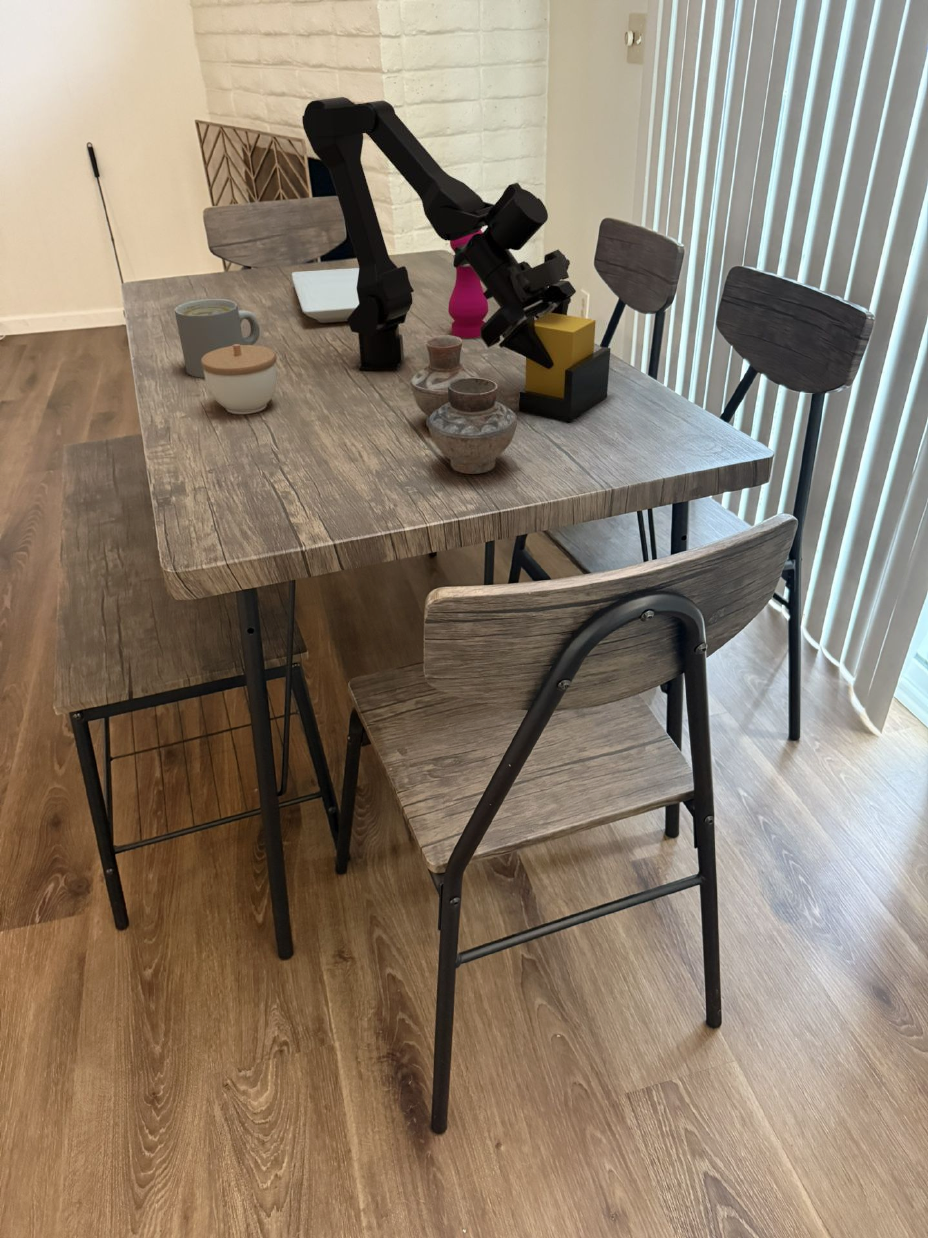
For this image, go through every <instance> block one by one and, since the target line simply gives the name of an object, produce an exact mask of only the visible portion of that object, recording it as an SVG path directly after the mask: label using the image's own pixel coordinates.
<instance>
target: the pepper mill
mask: <svg viewBox="0 0 928 1238" xmlns="http://www.w3.org/2000/svg"><path fill="white" fill-rule="evenodd" d="M483 232H484V231H482V229H481V230H480V231H479V232H477V233H481V234H482V233H483ZM477 233H475V234H477ZM475 234H472V235H469V236H466V237H463V238H460V239H457V240H454V241H449V246H450V248H451V250H452V251H453V253H455V247H458V246H461V245H465V244H466V243H467V242H468V241H469V240H470V239H471V237H472V236H473V235H475ZM454 257H455V254H453V256H452V258H453V259H454ZM452 264H454V261H453V262H452ZM455 275H456V276H455V282H454V286H453V289H452V293H451V295H450V297H449V301H448V307H447V308H448V315H449V316H450V317H451V319H452V320H453V321H452V322H451V324H450V325H451V327H450V328H451V335H452V336H456V337H459V338H461V339H474V338H479V337H480V328H481V327H482V326H483V325H484V324H485V323H486V322H485V321H484V319H485V318H486V317H487V315H488V314H489V302H488V299H486V297H485V296H484V295H483V293H484V292H485V291H484V289H483V286H482V282H481V280H480V279H479V277H478V276H477V275H476V273H475V272H474V271H473V269H472V268H471V266H470V265H469V264H465V265H463V266H460V267H457V268H455ZM480 338H481V337H480Z"/></svg>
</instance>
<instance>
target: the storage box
mask: <svg viewBox="0 0 928 1238" xmlns="http://www.w3.org/2000/svg"><path fill="white" fill-rule="evenodd" d="M534 320H535V332H536V334H537V335H538V337H539V339H540V340H541V342H542V344H543V345H544V347H545V348H546V350H547V352H548V353H549V355H550V357H551V359H552V361H553V363H554V366H552V367H551V368H550V369H547V368H545V367H543V366H541V365H540V364H538V363H536V362H534V361H532V360H530V359H528V358H527V357H525V384H524V386H525V388H524V390H526V391H531V392H536V393H541V394H545V395H550V396H555V397H559V398H564V383H565V370H566V369H568V368H569V367H571V366H573V365H574V364H576V363H578V362H579V361H581V360H583V359H584V358H586V357H588V356H589V355H591V354H593V353H594V352H595V351H594V350H595V338H596V337H595V336H596V322H597V321H596V319H591V318H586V317H581V316H580V317H579V316H574V315H568V314H567V315H562V314H556V313H548V314H546V315H544V316H542V317H540V318H538V319H537V318H535V319H534Z"/></svg>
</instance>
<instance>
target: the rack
mask: <svg viewBox="0 0 928 1238" xmlns="http://www.w3.org/2000/svg"><path fill="white" fill-rule="evenodd" d="M610 361H611V347H606V346H602V347H601V348H599V349H597V350H596V351H594V353H593V354H591V355H589V356H588V357H586V358H584V359H583V360H581V361H579V362H578V363H576V364H574V365H573V366H571V367H569V368H568V369H566V370H565V383H564V398H559V397H555V396H550V395H545V394H541V393H536V392H531V391H526V390H525V389H522V390H520V391H519V395H518V412H520V413H525V414H529V415H533V416H538V417H542V418H547V419H552V420H556V421H561V422H565V423H572V422H573V421H575V420H576V419H578V418H579V417H581V416H582V415H583V414H585V413H587V412H588V411H589V410H590V409H592V408H594V407H595V406H597V405H598V404H599V403H601V402H602V401H605V399H606V398H608V391H609V390H608V388H609V375H610Z"/></svg>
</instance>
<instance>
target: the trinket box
mask: <svg viewBox="0 0 928 1238" xmlns="http://www.w3.org/2000/svg"><path fill="white" fill-rule="evenodd" d="M201 364H202V368H203V370H204V375H205V378H204V380H205V382H206V386H207V388H208V390H209V393H210V395H211V396H212V398H213V399H214V400H215V401H216V402H217V404H219V405H220V406H222V407H223V408H225V410H226V411H227V412H228V413H230V414H234V415H249V414H254V413H258V412H261V411H263V410H265V409H266V408H267V407H268V403H269V402H271V400H272V398H273V397H274V395H275V393H276V390H277V383H278V369H277V356H276V352H275V351H274V350H273V349H271V348H269V347H267V346H262V345H258V344H257V345H255V344H253V345H240V344H234V345H233V346H229V347H224V348H220V349H216V350H214V351H211V352H209V353H207V354H205V355H204V356H203V357H202V359H201Z"/></svg>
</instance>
